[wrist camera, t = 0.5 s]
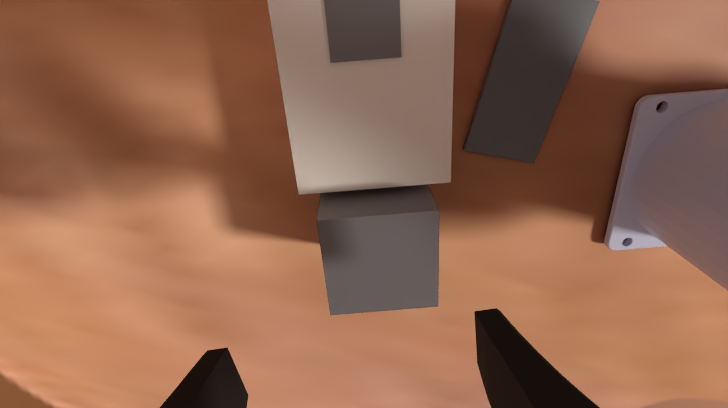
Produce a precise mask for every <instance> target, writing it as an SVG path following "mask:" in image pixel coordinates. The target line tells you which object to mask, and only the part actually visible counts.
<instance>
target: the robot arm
mask: <svg viewBox="0 0 728 408" xmlns="http://www.w3.org/2000/svg"><path fill="white" fill-rule="evenodd" d="M660 102H662V106H661V108H659V109H658V110H656V107H657V105H658V104H659V103H660ZM626 238H627V240H626V241H625V242H623V240H624V239H626ZM604 243H605V245H606V246H607V247H608V248H609V249H611V250H627V249H639V248H652V247H664V246H668V247H670V248H671V249H672V250H674V251H675V252H676V253H678V254H679V255H680V256H682V257H683V258H685V259H686V260H687V261H689V262H690V263H691V264H693V265H694V266H695V267H697V268H698V269H699V270H701V271H702V272H703V273H705V274H706V275H707V276H709V277H710V278H711V279H713V280H714V281H716V282H717V283H718V284H720V285H721V286H722V287H724V288H725V289H726V290H728V88H726V89H714V90H702V91H690V92H678V93H665V94H653V95H646V96H643V97H642V98H640V99H639V100H638V101H637V103H636V105H635V108H634V112H633V116H632V121H631V125H630V130H629V134H628V138H627V143H626V147H625V152H624V156H623V160H622V165H621V169H620V174H619V178H618V182H617V187H616V191H615V196H614V200H613V204H612V209H611V213H610V218H609V222H608V226H607V231H606V235H605V240H604ZM475 328H476V345H477V363H478V367H479V370H480V373H481V377H482V380H483V384H484V387H485V390H486V394H487V397H488V400H489V402H490V405H491V407H492V408H599V407H598V406H597V405H596V404H595V403H593V402H592V401H591V400H590V399H589V398H587V397H586V396H585V395H584V394H583V393H582V392H580V391H579V390H578V389H577V388H576V387H575V386H574V385H572V384H571V383H570V382H569V381H568V380H567V379H566V378H565V377H564V376H562V375H561V374H560V373H559V372H558V371H557V370H556V369H555V368H554V367H553V366H552V365H551V364H550V363H549V362H548V361H547V360H546V359H545V358H544V357H543V356H542V355H540V354H539V353H538V352H537V351H536V350H535V349H534V348H533V347H532V345H531V344H530V343H529V342H528V341H527V340H526V339H525V338H524V337H523V336H522V335H521V334H520V333H519V332H518V331H517V330H516V329H515V327H514V326H513V325H512V324H511V323H510V322H509V321H508V320H507V318H506V317H505V316H504V315H503V314H502V313H501V311H499V310H498V309H489V310H482V311H475ZM247 400H248V394H247V391H246V389H245V387H244V384H243V382H242V380H241V378H240V375H239V373H238V371H237V368H236V366H235V364H234V362H233V359H232V357H231V355H230V352H229V350H228V348H222V349H215V350H208V351H207V352H206V353H205V354H204V355H203V356H202V357H201V359H200V360H199V361H198V362H197V363H196V365H195V366H194V367H193V368H192V369H191V371H190V372H189V373H188V374H187V376H186V377H185V378H184V379H183V380H182V382H181V383H180V384H179V385H178V387H177V388H176V389H175V390H174V391H173V393H172V394H171V395H170V396H169V397H168V399H167V400H166V401H165V402H164V403H163V404H162V406H161V407H160V408H246V407H247Z"/></svg>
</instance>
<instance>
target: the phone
mask: <svg viewBox="0 0 728 408" xmlns="http://www.w3.org/2000/svg"><path fill="white" fill-rule="evenodd" d="M599 2H600V1H595V0H510V1H509V4H508V7H507V11H506V14H505V17H504V20H503V23H502V26H501V30H500V33H499V36H498V39H497V42H496V45H495V49H494V52H493V55H492V58H491V61H490V64H489V68H488V71H487V74H486V77H485V80H484V83H483V87H482V90H481V93H480V96H479V99H478V103H477V106H476V109H475V112H474V115H473V118H472V122H471V125H470V128H469V131H468V134H467V137H466V141H465V144H464V147H463V150H464V151H469V152H474V153H480V154H486V155H491V156H497V157H502V158H508V159H514V160H519V161H525V162H530V163H534V162H535V159H536V157H537V155H538V152H539V150H540V147H541V145H542V142H543V140H544V137H545V135H546V132H547V130H548V127H549V125H550V122H551V120H552V118H553V115H554V113H555V110H556V108H557V105H558V103H559V100H560V98H561V95H562V93H563V90H564V88H565V85H566V83H567V81H568V78H569V76H570V73H571V71H572V68H573V66H574V63H575V61H576V58H577V56H578V53H579V51H580V49H581V46H582V44H583V41H584V39H585V36H586V34H587V31H588V29H589V26H590V24H591V21H592V19H593V16H594V14H595V12H596V9H597V7H598V4H599Z"/></svg>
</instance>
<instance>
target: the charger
mask: <svg viewBox="0 0 728 408" xmlns="http://www.w3.org/2000/svg"><path fill="white" fill-rule="evenodd" d="M317 226H318V233H319V240H320V247H321V253H322V260H323V267H324V274H325V281H326V288H327V295H328V302H329V309H330V315H338V314H351V313H363V312H375V311H388V310H400V309H412V308H425V307H437V306H438V278H439V209H438V207H437V204H436V202H435V200H434V198H433V195H432V193H431V191H430V189H429V187H428V184H425V185H413V186H400V187H388V188H376V189H364V190H351V191H339V192H327V193H321V196H320V202H319V209H318V215H317Z"/></svg>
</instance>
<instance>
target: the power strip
mask: <svg viewBox="0 0 728 408" xmlns="http://www.w3.org/2000/svg"><path fill="white" fill-rule="evenodd" d="M267 3H268V9H269V15H270V21H271V27H272V34H273V40H274V46H275V52H276V58H277V64H278V71H279V77H280V83H281V89H282V95H283V101H284V108H285V114H286V120H287V126H288V132H289V138H290V145H291V151H292V157H293V163H294V169H295V175H296V182H297V188H298V194H299V195H302V194H315V193H327V192H339V191H351V190H364V189H376V188H388V187H400V186H413V185H425V184H437V183H449V182H451V154H452V114H453V74H454V34H455V0H267Z"/></svg>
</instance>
